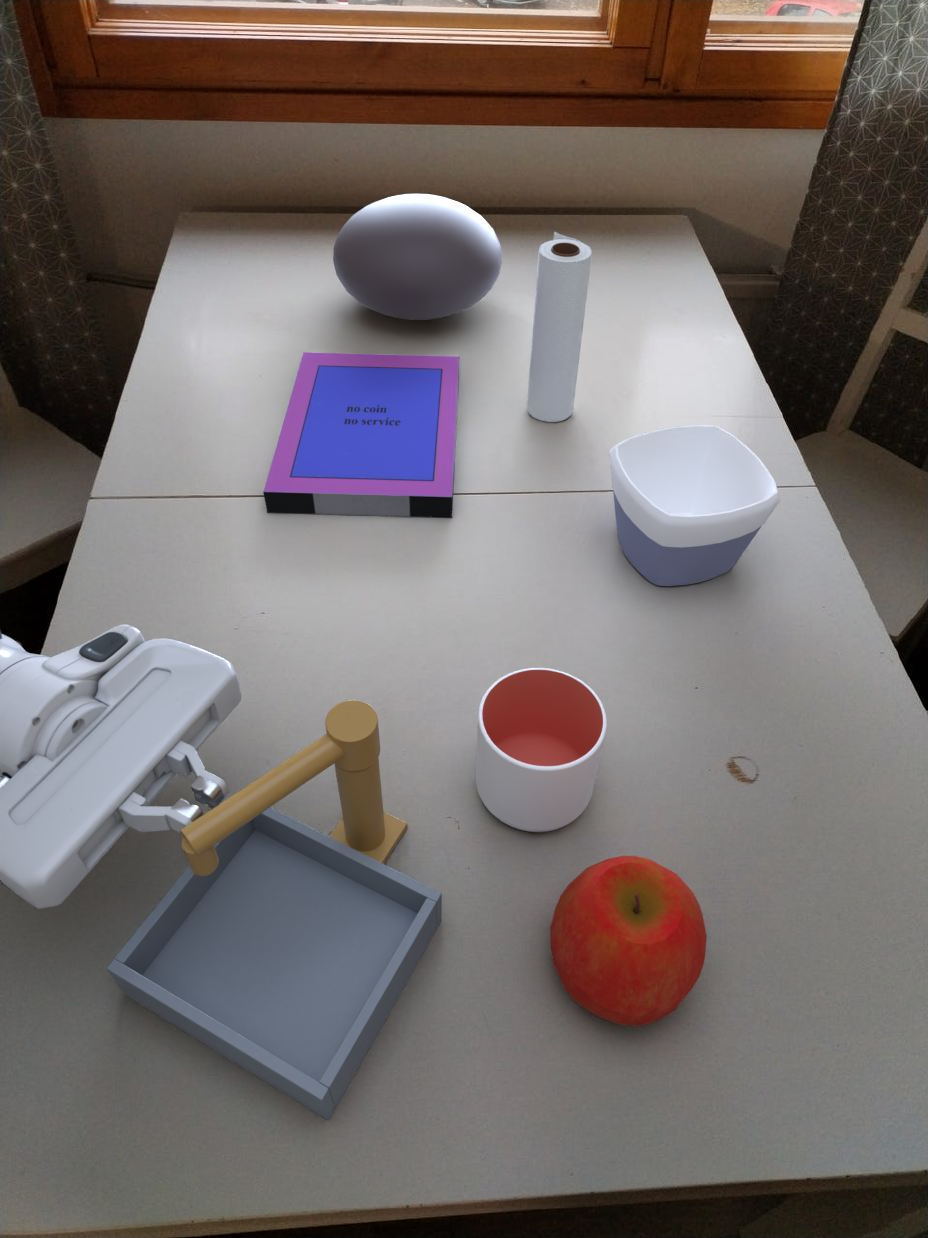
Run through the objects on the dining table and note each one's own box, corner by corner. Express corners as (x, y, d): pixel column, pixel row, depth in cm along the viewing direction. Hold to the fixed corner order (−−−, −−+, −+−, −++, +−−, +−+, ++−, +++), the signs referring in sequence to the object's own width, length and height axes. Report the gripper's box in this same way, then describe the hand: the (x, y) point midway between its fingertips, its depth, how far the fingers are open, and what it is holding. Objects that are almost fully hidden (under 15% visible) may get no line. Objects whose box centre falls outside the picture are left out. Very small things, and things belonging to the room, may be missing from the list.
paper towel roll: (562, 428, 113) (581, 264, 98) (519, 416, 115) (530, 253, 100) (582, 400, 118) (603, 239, 102) (540, 389, 120) (554, 228, 104)
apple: (675, 893, 70) (704, 821, 62) (707, 1037, 63) (744, 977, 55) (539, 897, 70) (550, 826, 62) (555, 1043, 62) (570, 983, 54)
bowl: (701, 495, 105) (722, 413, 97) (772, 581, 95) (803, 499, 87) (581, 520, 101) (593, 438, 93) (642, 613, 91) (661, 530, 83)
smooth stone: (335, 349, 126) (325, 244, 115) (338, 269, 143) (329, 171, 132) (508, 344, 128) (514, 240, 117) (491, 265, 145) (494, 168, 134)
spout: (207, 891, 57) (192, 855, 54) (178, 853, 59) (162, 816, 56) (391, 761, 65) (388, 722, 61) (360, 731, 66) (356, 691, 63)
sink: (328, 1121, 59) (321, 1100, 55) (122, 994, 64) (105, 968, 61) (442, 920, 68) (441, 893, 65) (254, 824, 74) (246, 794, 70)
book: (263, 491, 99) (303, 351, 120) (267, 512, 101) (305, 371, 122) (452, 497, 99) (459, 356, 119) (452, 517, 101) (459, 376, 122)
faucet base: (376, 877, 71) (366, 794, 62) (323, 850, 72) (306, 765, 63) (408, 827, 74) (403, 742, 65) (356, 803, 75) (345, 716, 66)
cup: (609, 767, 78) (625, 695, 71) (563, 858, 72) (577, 790, 65) (506, 723, 81) (512, 650, 74) (454, 807, 75) (455, 737, 68)
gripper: (-92, 819, 54) (81, 922, 50) (139, 608, 67) (292, 676, 63) (-51, 870, 59) (111, 967, 55) (158, 663, 71) (302, 729, 67)
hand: (209, 809), depth 59 cm, fingers closed
